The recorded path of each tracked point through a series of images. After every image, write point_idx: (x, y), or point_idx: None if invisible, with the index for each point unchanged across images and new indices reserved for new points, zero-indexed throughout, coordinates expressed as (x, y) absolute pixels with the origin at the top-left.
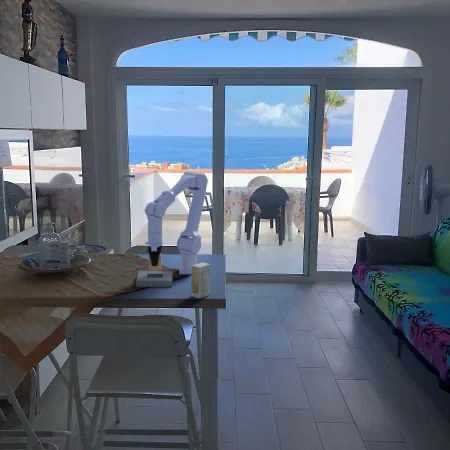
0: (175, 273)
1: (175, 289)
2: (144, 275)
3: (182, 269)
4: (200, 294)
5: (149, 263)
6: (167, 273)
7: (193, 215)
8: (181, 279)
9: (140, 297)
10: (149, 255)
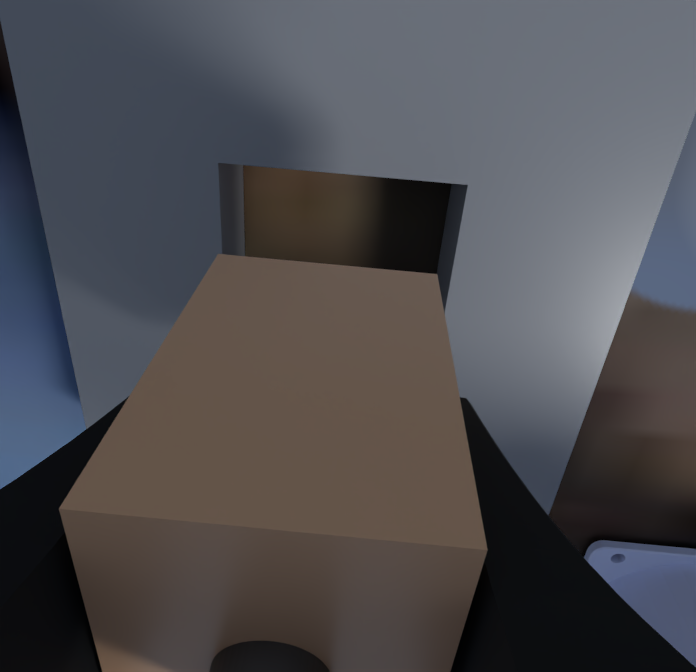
0: (656, 505)
1: (40, 451)
2: (353, 125)
3: (640, 604)
4: None
5: (177, 346)
6: None
7: None
8: None
9: None
10: (69, 530)
